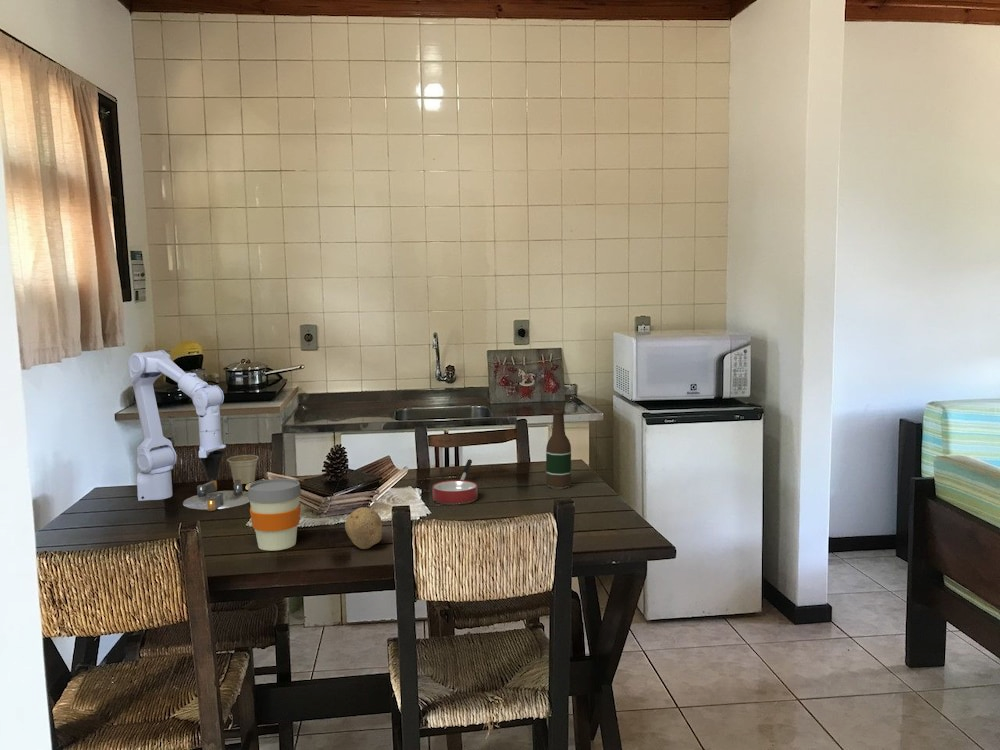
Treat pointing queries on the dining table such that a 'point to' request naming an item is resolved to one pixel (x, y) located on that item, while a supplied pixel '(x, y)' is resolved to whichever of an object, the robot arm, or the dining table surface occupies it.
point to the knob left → (206, 488)
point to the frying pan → (455, 489)
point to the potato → (364, 527)
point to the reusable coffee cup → (275, 512)
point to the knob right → (237, 487)
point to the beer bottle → (558, 453)
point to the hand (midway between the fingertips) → (212, 477)
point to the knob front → (215, 501)
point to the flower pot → (243, 467)
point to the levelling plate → (229, 501)
